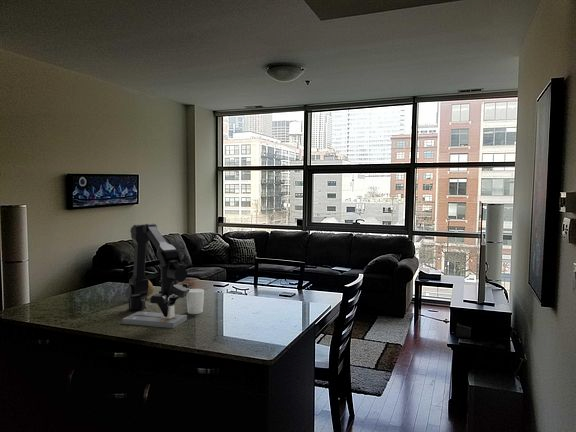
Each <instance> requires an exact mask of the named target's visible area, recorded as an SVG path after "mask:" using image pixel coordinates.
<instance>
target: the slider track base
mask: <svg viewBox="0 0 576 432" xmlns="http://www.w3.org/2000/svg"><path fill="white" fill-rule="evenodd" d="M187 320H188V315H187V314H177V313H175V317H173V318H171V319H167V318H162V312H155V311H154V312H153V311H150V312H149V311H142V310H141V311H135V312H134V313H131V314H130V315H128V316H125V317H124V318H122V319H121V321H122V324H123V325H133V326H134V325H135V326H145V327H147V326H148V327H158V328H166V329H167V328H168V329H169V328H170V329H174V328H176V327H177V326H179V325H180V324H182V323H184V322H185V321H187Z"/></svg>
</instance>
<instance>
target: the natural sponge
mask: <svg viewBox="0 0 576 432" xmlns="http://www.w3.org/2000/svg"><path fill="white" fill-rule="evenodd" d="M148 281H149V283H148V286H149V288H148V294H147V296H144V299H145V300H146V298H148V297H149V296H152V294H153V293H154V291H155V287H154V285H153V283H152V282H151V281H150V280H149V279H148Z"/></svg>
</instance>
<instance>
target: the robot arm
mask: <svg viewBox="0 0 576 432" xmlns="http://www.w3.org/2000/svg"><path fill="white" fill-rule="evenodd" d="M129 232H130V237H131V241H133V244H134V254H133V271H132V272H133V273H132V275H131V277H130V279H129V281H128V286H127V288H126V289H125V292H124V296H125V298H127V299H128V308H126V311H131V312H139V311H141V312H142V311H143V310H145V309H147V306H146V298H145V299H144V296H147V294H148V288H149V286H148V283H149V281H150V280H149V279H147V277H146V276H145V273H146V251H147V244H148V242H149V241H151V243H152V244H153V246H154V247H155V249H156V257H157V259H158V261H159V264H158V267H160V280H159V281H158V285H160V290H159V291H158V293H156V294H153V295H150V296H151V297H149V303H150V304H157V305H158V308H159V309H160V310H161V311H160V312H161V313H163V315H164V317H167V315H168V306H169V304H172V305H175V306H176V302H177V300H179V299H184V298H185V297H187V293H188V292H189V291H190V290H189V289H190V285H189V283H183V284H179V283H181V282H184V281H185V280H186V279H187V277H188V271H187V270H186V268H185V267H184V264H183V263H182V258H181V256H180V255H179V251H178V250H177V248H176V247H175V246H174V245H173V244H170V243H168V242H167V241H166V239H165V237H163V235H162V233H161V232H160V230H159V229H158V227H157V224H155V223H144V224H133V225H132V226H131V228H130V231H129ZM148 280H149V281H148Z"/></svg>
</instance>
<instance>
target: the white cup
mask: <svg viewBox="0 0 576 432" xmlns="http://www.w3.org/2000/svg"><path fill="white" fill-rule="evenodd" d="M189 290H190V291H189V292H188V293H187V296H186V306H187V308H186V309H187V314H190V315H200V314H202V313H203V311H204V310H203V309H204V302H205V301H204V299H205V297H204V295H205V290H204V289H203V288H191V289H190V288H189Z"/></svg>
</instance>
